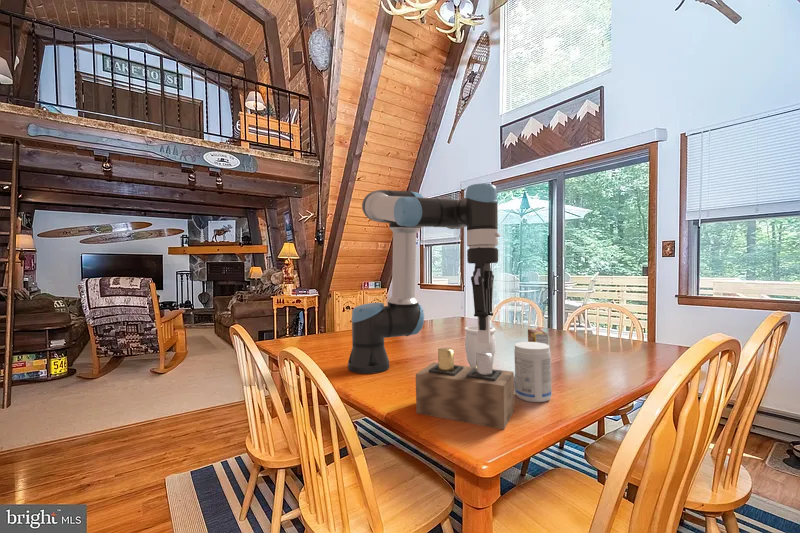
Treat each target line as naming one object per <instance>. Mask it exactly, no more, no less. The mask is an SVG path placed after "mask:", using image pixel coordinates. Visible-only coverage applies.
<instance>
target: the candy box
mask: <svg viewBox="0 0 800 533" xmlns="http://www.w3.org/2000/svg"><path fill="white" fill-rule="evenodd" d="M527 342H539V343H544V344H547V345H549V333H547V332H545V331H544V330H542V329H540V328H527Z"/></svg>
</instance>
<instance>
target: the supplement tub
mask: <svg viewBox="0 0 800 533" xmlns="http://www.w3.org/2000/svg"><path fill="white" fill-rule="evenodd" d="M513 350H514V381H515V382H514V384H515V386H514V388H515V395H516V396H517V398H519V399H520V400H522V401H526V402H529V403H543V402H544V403H545V402H548V401H549V400H551V399H552V364H551V362H552V361H551V350H550V345H549V344H548V345H547V344H544V343H539V342H528V341H521V342H520V341H519V342H516V343H515V344H514V349H513Z"/></svg>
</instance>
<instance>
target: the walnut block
mask: <svg viewBox="0 0 800 533" xmlns="http://www.w3.org/2000/svg"><path fill="white" fill-rule="evenodd" d="M492 372H493V376H492V377H488V376H480V375H476V367H470V365H469V366H466V365H458V364H454V371H453V372H448V371H440V370H439V367H438V362H432V363H431V364H429V365H428V366H426V367H424V368H423V369H421V370H420V371H418V372H416V373H415V404H416V405H415V406H416V407H415V410H416V411H415V412H416V414H419V415H424V416H430V417H435V418H439V419H441V418H442V419H446V420H450V421H456V422H461V423H467V424H472V425H477V426H482V427H489V428H494V429H499V430H505V429H506V427H507V426H508V423H509V422H510V420H511V418H512V416H513V414H514V412H515V390H514V389H515V386H514V384H515V382H514V381H515V371H512V370H511V371H510V370H501V369H495V368H492Z"/></svg>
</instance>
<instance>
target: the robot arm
mask: <svg viewBox="0 0 800 533" xmlns="http://www.w3.org/2000/svg"><path fill="white" fill-rule="evenodd" d="M465 190H466V192H465V197H463V198H460V199H453V198H451V199H450V198H429V197H424V196H423V195H422V194H421V193H419V192H415V191H411V190H390V189H389V190H387V189H378V190H374V191H371V192H369V193H368V194H366V196H365V197H364V198H363V201H362V203H361V204H362V205H361V208H362V212H363V214H364V215H365V217H366V218H367V219H369V220H371V221H373V222H377V223H385V224H386V223H387V224H389V227H388V228H389V230H391V232H392V269H391V270H392V274H391V275H392V276H391V277H392V278H391V296H390V297H389V299H387V305H385V304H384V303H383V302H369V303H364V304H360V305H358V306H355V307H354V308H353V309H352V312H351V336H352V337H351V339H352V342H351V344H352V345H351V346H352V347H351V348H352V349H351V351H350V355H349V357H348V362H347V370H348V371H349V372H352V373H355V374H362V375H363V374H377V373H382V372H384V371H385V372H386V371H387V370H389V369H390V359H389V357H388V354H387V350H386V348H385V339H386V338H396V337H409V336H413V335H418V334H419V333H420V332H421V330H422V328H423V326H424V322H425V313H424V308H423V307H422V305H421V304H419V300H418V299H417V297H416V296H415V292H416V258H417V255H416V254H417V233H418V232H419V231H420V230H421V228H423V227H424V228H426V227H427V228H446V229H449V230H455V229H456V230H460V229H462V228H466V246H467V247H468V249H467V252H466V256H467V257H466V259H467V263H468V264H474V271H472V276H471V277H470V281H471V286H472V295H473V296H472V297H473V307H474V309H473V310H474V314H473V316H474V317H475V318H476V317H477V326H478V343H488V344H489V343H490V327H491V317H492V316H493V317H494V312H493V293H494V290H493V289H494V279H495V274H493V270H492V269H491V268H492V267H491V264H498V263H499V249H498V248H497V246H498V245H499V242H498V240H499V239H498V238H500V237H501V233H499V232H498V229H499V228H498V226H499V224H498V223H499V220H498V213H499V212H498V203H499V200H498V192H497V191H498V190H497V187H496V185H494V184H492V183H485V182H484V183H473V184H470V185H469V186H467V187H466V189H465Z"/></svg>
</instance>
